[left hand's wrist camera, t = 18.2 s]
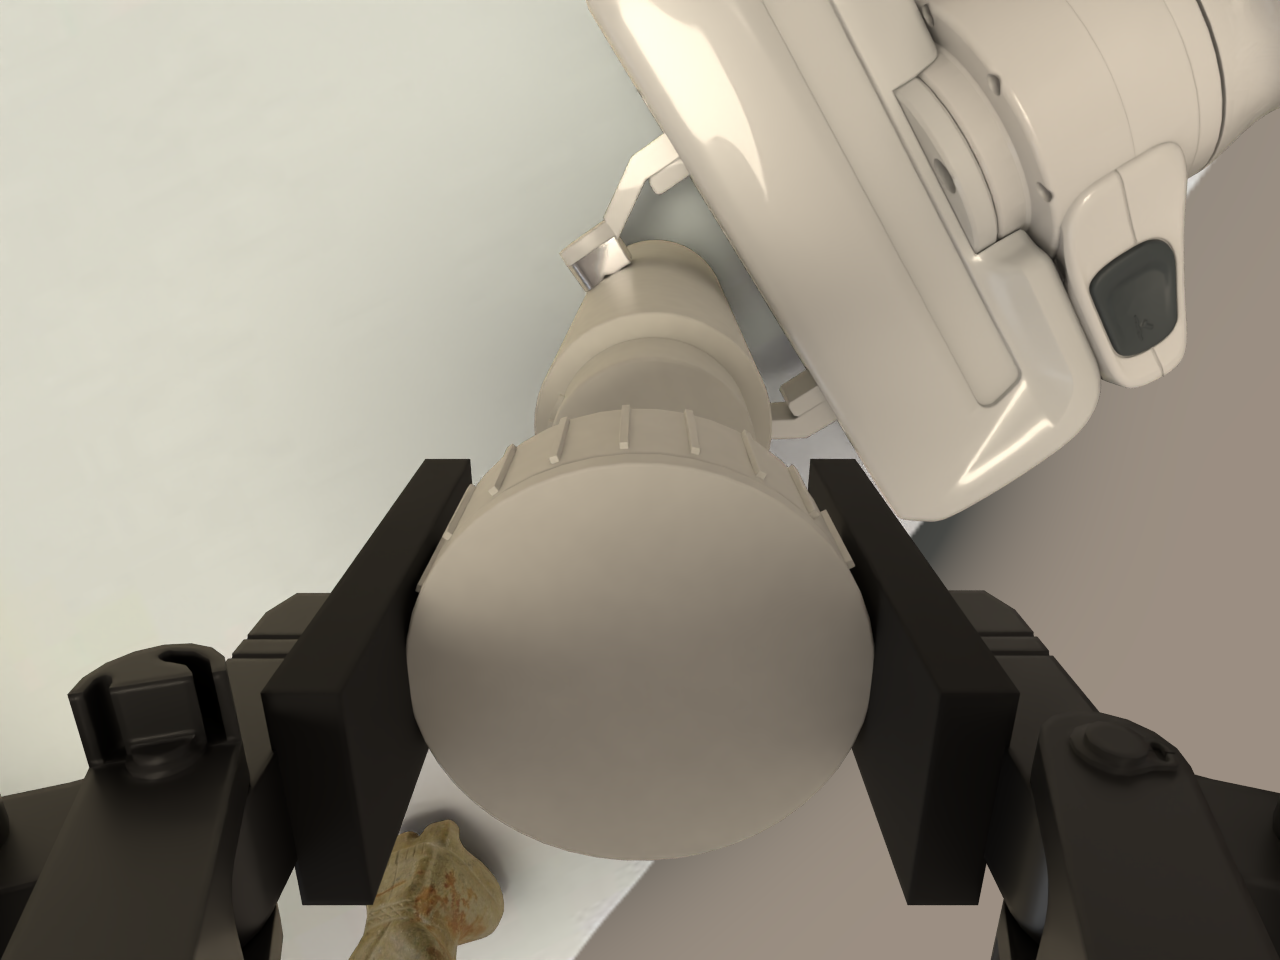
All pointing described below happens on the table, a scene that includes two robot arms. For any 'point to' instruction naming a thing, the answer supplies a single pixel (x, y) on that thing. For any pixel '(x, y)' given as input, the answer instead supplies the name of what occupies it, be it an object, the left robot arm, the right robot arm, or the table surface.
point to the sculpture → (430, 899)
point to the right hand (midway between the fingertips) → (633, 359)
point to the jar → (657, 348)
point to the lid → (639, 638)
